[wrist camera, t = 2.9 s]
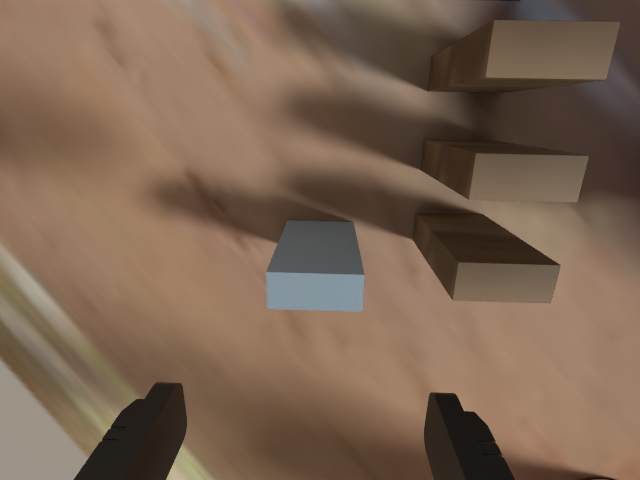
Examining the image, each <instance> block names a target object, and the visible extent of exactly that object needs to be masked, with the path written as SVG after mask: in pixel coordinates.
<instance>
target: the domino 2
mask: <svg viewBox="0 0 640 480" xmlns="http://www.w3.org/2000/svg"><path fill="white" fill-rule="evenodd" d="M620 23H621V22H600V21H531V20H493V21H492V22H490V23H488V24H486V25H485V26H483V27H481V28H480V29H478V30H476V31H474V32H473V33H471V34H469V35H467V36H466V37H464V38H462V39H461V40H459V41H457V42H455V43H454V44H452V45H450V46H448V47H447V48H445V49H443V50H442V51H440V52H438V53H436V54H435V55H433V56H432V58H431V67H430V76H429V86H428V91H441V92H494V93H504V92H512V91H520V90H528V89H536V88H544V87H552V86H560V85H567V84H575V83H583V82H591V81H599V80H606V78H607V74H608V70H609V67H610V63H611V59H612V55H613V51H614V47H615V43H616V39H617V35H618V31H619V27H620Z"/></svg>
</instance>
